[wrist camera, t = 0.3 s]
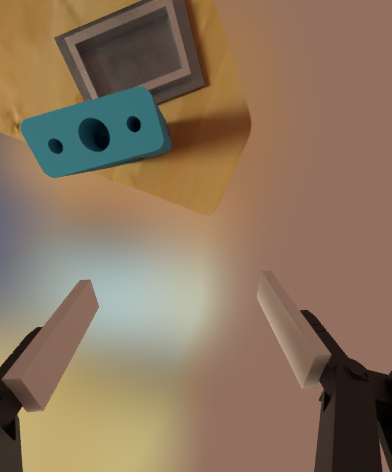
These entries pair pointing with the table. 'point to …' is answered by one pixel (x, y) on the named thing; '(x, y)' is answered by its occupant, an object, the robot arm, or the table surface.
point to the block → (98, 133)
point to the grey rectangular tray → (135, 52)
